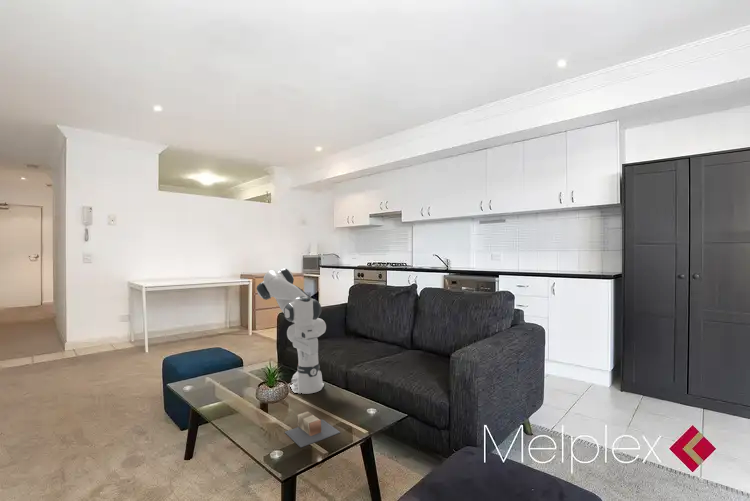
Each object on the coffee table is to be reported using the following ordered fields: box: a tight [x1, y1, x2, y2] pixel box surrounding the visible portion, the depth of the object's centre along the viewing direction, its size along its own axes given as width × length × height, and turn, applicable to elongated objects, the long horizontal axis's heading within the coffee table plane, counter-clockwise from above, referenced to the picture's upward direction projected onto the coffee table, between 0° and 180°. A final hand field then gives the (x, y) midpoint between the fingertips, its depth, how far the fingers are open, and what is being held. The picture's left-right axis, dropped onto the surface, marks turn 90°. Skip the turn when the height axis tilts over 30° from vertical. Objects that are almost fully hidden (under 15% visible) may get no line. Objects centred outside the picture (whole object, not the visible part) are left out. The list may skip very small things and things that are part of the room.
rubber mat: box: [284, 418, 341, 448], centre depth 155 cm, size 16×18×1 cm
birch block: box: [297, 411, 321, 436], centre depth 158 cm, size 5×5×12 cm
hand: (304, 360), depth 173 cm, fingers closed
